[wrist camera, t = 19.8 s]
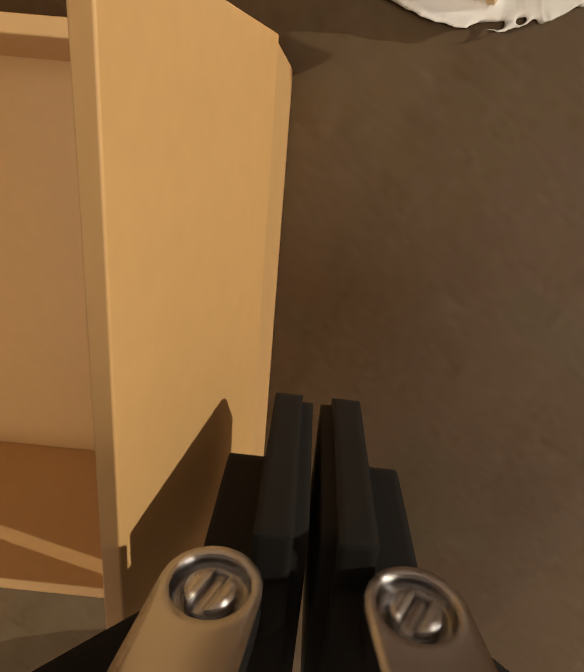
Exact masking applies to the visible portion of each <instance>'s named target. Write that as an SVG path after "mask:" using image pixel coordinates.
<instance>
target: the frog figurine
mask: <svg viewBox="0 0 584 672" xmlns="http://www.w3.org/2000/svg"><path fill="white" fill-rule="evenodd" d="M391 1H393V2H395V3H397V4H398V5H400V6H402V7H404V8H405V9H407V10H412V11H414V12H416V13H417V14H418V15H419V16H421V17H425V18H427V19H430V20H432V21H434V22H442V23H446V24H448V25H451V26H453V27H456V28H457V27H461V28H467V27H468V26H470V25H472V24H475V23H481V22H499V21H505V25H504V27H503V28H502V29H501V30H494V29H488V30H494V31H496V32H505V31H506V30H508V29H512V28H516V27H517V28H518V27H521V26H523V25H526V24H527V23H529V22H530V21H531V20H533V19H535V20H537V23H538V24H542V23H544V22H547V21H551V20H553V19H555V18H557V17H559V16H561V15H563V14H565V13H567V12H568V11H570V10H572V9H573V8H575V7H579V6H580V7H584V0H391ZM523 17H526V18H527V20H526V22H525V23H524V24H522V25H517V24H516V19H518V18H523Z"/></svg>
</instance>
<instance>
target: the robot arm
mask: <svg viewBox="0 0 584 672" xmlns="http://www.w3.org/2000/svg"><path fill="white" fill-rule="evenodd" d="M302 400H303V395H295V394H285V393H276V396H275V402H274V409H273V415H272V421H271V427H270V433H269V439H268V445H267V451H266V456H257V455H248V454H238V453H230V454H229V456H228V459H227V463H226V466H225V470H224V473H223V477H222V481H221V484H220V488H219V492H218V495H217V499H216V502H215V506H214V510H213V513H212V517H211V521H210V524H209V528H208V532H207V535H206V539H205V542H204V546H203V547H198V548H194V549H192V550H189V551H187V552H184V553H182V554H180V555H179V556H178V557H176V558H175V559H173V560H172V561H170V563H169V564H168V565H167V566H166V568H165V569H164V570H163V572H162V573H161V575H160V576H159V578H158V580H157V582H156V584H155V585H154V587H153V589H152V591H151V593H150V594H149V596H148V598H147V600H146V602H145V603H144V605H143V607H142V609H141V610H140V611H138V612H137V613H135V614H133V615H131V616H129V617H128V618H126V619H124V620H122V621H121V622H119V623H117V624H115V625H114V626H112V627H110V628H108V629H107V630H105V631H103V632H101V633H99V634H98V635H96V636H94V637H92V638H91V639H89V640H87V641H85V642H84V643H82V644H80V645H78V646H76V647H75V648H73V649H71V650H69V651H68V652H66V653H64V654H62V655H61V656H59V657H57V658H55V659H54V660H52V661H50V662H48V663H46V664H45V665H43V666H41V667H39V668H38V669H36V670H34V671H32V672H292V667H293V659H294V652H295V644H296V636H297V628H298V621H299V613H300V605H301V597H302V590H303V582H304V593H303V621H302V648H301V672H509V671H508V670H507V669H505V668H504V667H503V666H502V665H500V664H499V663H498V662H497V661H495V660H494V659H493V658H492V657H491V655H490V653H489V651H488V649H487V647H486V645H485V643H484V640H483V638H482V636H481V634H480V632H479V630H478V628H477V626H476V623H475V621H474V619H473V617H472V615H471V613H470V611H469V609H468V607H467V605H466V603H465V602H464V600H463V599H462V597H461V596H460V594H459V593H458V592H457V591H456V590H455V589H454V588H453V587H452V586H451V585H450V584H449V583H448V582H447V581H445V580H443V579H442V578H440V577H438V576H437V575H435V574H433V573H431V572H428V571H426V570H423V569H420V568H418V567H417V562H416V558H415V553H414V548H413V544H412V539H411V534H410V530H409V525H408V521H407V516H406V511H405V507H404V502H403V498H402V493H401V488H400V484H399V479H398V475H397V472H396V471H395V470H391V469H382V468H372V467H369V465H368V458H367V451H366V443H365V436H364V429H363V422H362V415H361V407H360V402H359V401H353V400H343V399H333V398H332V401H331V405H322V404H321V407H320V414H319V422H318V430H317V438H316V446H315V454H314V462H313V470H312V478H311V448H312V412H313V403H303V402H302ZM310 484H311V486H310Z"/></svg>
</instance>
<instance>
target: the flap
mask: <svg viewBox="0 0 584 672" xmlns="http://www.w3.org/2000/svg"><path fill="white" fill-rule="evenodd" d="M66 6H67V21H68V37H69V53H70V68H71V84H72V100H73V115H74V131H75V147H76V162H77V178H78V194H79V209H80V225H81V241H82V256H83V272H84V288H85V303H86V319H87V335H88V351H89V366H90V382H91V398H92V413H93V429H94V445H95V460H96V476H97V492H98V507H99V523H100V539H101V554H102V570H103V586H104V601H105V617H106V630H107V629H108V628H110V627H112V626H114V625H115V624H117V623H119V622H121V621H122V620H124V619H126V618H128V617H129V616H131V615H133V614H135V613H137V612H138V611H140V610H141V609H142V607H143V605H144V603H145V602H146V600H147V598H148V596H149V594H150V593H151V591H152V589H153V587H154V585H155V584H156V582H157V580H158V578H159V576H160V575H161V573H162V572H163V570H164V569H165V568H166V566H167V565H168V564H169V563H170V561H172V560H173V559H175V558H176V557H178V556H179V555H180V554H182V553H184V552H187V551H189V550H192V549H194V548H198V547H203V546H204V542H205V539H206V535H207V532H208V528H209V524H210V521H211V517H212V513H213V510H214V506H215V502H216V499H217V495H218V492H219V488H220V484H221V481H222V477H223V473H224V470H225V466H226V463H227V459H228V456H229V454H230V453H238V454H248V455H251V453H252V438H253V422H254V407H255V392H256V377H257V361H258V346H259V331H260V315H261V300H262V285H263V269H264V254H265V239H266V223H267V208H268V193H269V177H270V162H271V147H272V131H273V116H274V101H275V85H276V70H277V55H278V40H279V35H278V34H277V33H276V32H274V31H273V30H271V29H270V28H268V27H266V26H265V25H263V24H262V23H260V22H259V21H257V20H255V19H254V18H252V17H251V16H249V15H248V14H246V13H245V12H243V11H241V10H240V9H238V8H237V7H235V6H234V5H232V4H231V3H229V2H227V1H226V0H66Z"/></svg>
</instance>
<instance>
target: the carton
mask: <svg viewBox="0 0 584 672" xmlns="http://www.w3.org/2000/svg"><path fill="white" fill-rule="evenodd" d="M292 74H293V69H292V67H291V65H290V64H289V62H288V60H287V58H286V56H285V54H284V53H283V51H282V49H281V47H280V45H279V43H278V55H277V70H276V85H275V101H274V116H273V131H272V147H271V162H270V177H269V193H268V208H267V223H266V239H265V254H264V269H263V285H262V300H261V315H260V331H259V346H258V361H257V377H256V392H255V407H254V422H253V438H252V453H251V455H257V456H264V445H265V432H266V418H267V405H268V392H269V379H270V365H271V352H272V339H273V326H274V312H275V299H276V286H277V273H278V259H279V246H280V233H281V220H282V206H283V193H284V180H285V167H286V153H287V140H288V127H289V114H290V100H291V87H292ZM0 587H4V588H13V589H23V590H32V591H42V592H52V593H61V594H71V595H81V596H90V597H100V598H104V586H103V570H102V554H101V539H100V523H99V507H98V492H97V476H96V460H95V445H94V429H93V413H92V398H91V382H90V366H89V351H88V335H87V319H86V303H85V288H84V272H83V256H82V241H81V225H80V209H79V194H78V178H77V162H76V147H75V131H74V115H73V100H72V84H71V68H70V53H69V37H68V21H67V17H57V16H46V15H34V14H23V13H11V12H0Z"/></svg>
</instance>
